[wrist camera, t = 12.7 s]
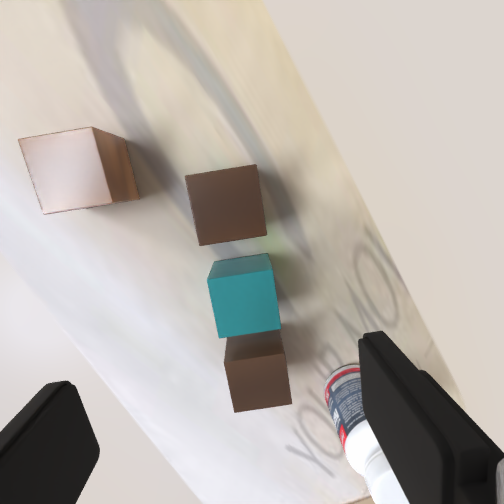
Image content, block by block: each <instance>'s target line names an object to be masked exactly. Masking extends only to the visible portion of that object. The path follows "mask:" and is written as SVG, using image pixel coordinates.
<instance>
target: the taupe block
mask: <svg viewBox="0 0 504 504" xmlns="http://www.w3.org/2000/svg"><path fill="white" fill-rule="evenodd" d="M185 180H186V185H187V190H188V195H189V199H190V204H191V209H192V214H193V218H194V223H195V228H196V232H197V237H198V242H199V246H204V245H210V244H216V243H223V242H229V241H235V240H241V239H248V238H254V237H260V236H266V235H267V230H266V223H265V217H264V210H263V203H262V196H261V190H260V183H259V176H258V169H257V165H256V164H254V165H247V166H241V167H235V168H229V169H223V170H217V171H211V172H205V173H199V174H193V175H187V176H185Z"/></svg>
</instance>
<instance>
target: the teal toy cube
mask: <svg viewBox="0 0 504 504" xmlns="http://www.w3.org/2000/svg"><path fill="white" fill-rule="evenodd" d="M207 283H208V288H209V293H210V297H211V302H212V307H213V312H214V317H215V321H216V326H217V331H218V336H219V338H225V337H232V336H238V335H245V334H251V333H258V332H265V331H271V330H278V329H281V323H280V316H279V309H278V302H277V295H276V288H275V281H274V274H273V269H272V266H271V262H270V259H269V256H268V253H266V254H260V255H253V256H247V257H240V258H234V259H228V260H221V261H215V262H214V264H213V266H212V269H211V271H210V274H209V276H208V279H207Z"/></svg>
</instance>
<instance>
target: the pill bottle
mask: <svg viewBox="0 0 504 504" xmlns="http://www.w3.org/2000/svg"><path fill="white" fill-rule="evenodd" d="M324 397H325V400H326V403H327V406H328V408H329V411H330V414H331V416H332V419H333V421H334V424H335V427H336V430H337V432H338V435H339V438H340V440H341V444H342V446H343V449H344V452H345V454H346V457H347V459H348V461H349V463H350V464H351V466H352V467H353V468H354V469H355V470H356V471H357V472H358V473H359V474H360V475H362V476H364V478H365V482H366V485H367V486H368V489H369V491H370V493H371V496H372V498H373V500H374V502H375V504H409V502H408V500H407V498H406V496H405V494H404V492H403V490H402V488H401V486H400V484H399V482H398V480H397V478H396V476H395V474H394V472H393V470H392V469H391V467H390V465H389V463H388V461H387V459H386V457H385V455H384V453H383V451H382V449H381V447H380V445H379V443H378V441H377V439H376V437H375V435H374V433H373V431H372V429H371V427H370V425H369V423H368V421H367V419H366V417H365V415H364V411H363V406H362V393H361V377H360V365H348V366H344V367H342V368H340V369H338V370H336V371H335V372H333V373H332V374H331V375H330V377H329V378H328V379H327V381H326V383H325V387H324Z"/></svg>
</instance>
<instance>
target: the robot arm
mask: <svg viewBox="0 0 504 504" xmlns="http://www.w3.org/2000/svg"><path fill="white" fill-rule="evenodd" d="M358 347H359V362H360V377H361V393H362V406H363V411H364V415H365V417H366V419H367V421H368V423H369V425H370V427H371V429H372V431H373V433H374V435H375V437H376V439H377V441H378V443H379V445H380V447H381V449H382V451H383V453H384V455H385V457H386V459H387V461H388V463H389V465H390V467H391V469H392V470H393V472H394V474H395V476H396V478H397V480H398V482H399V484H400V486H401V488H402V490H403V492H404V494H405V496H406V498H407V500H408V502H409V504H504V453H503V452H502V451H501V449H500V448H499V447H498V446H497V445H496V444H495V443H494V442H493V441H492V440H491V439H490V438H489V437H488V436H487V435H486V434H485V433H484V432H483V430H482V429H481V428H480V427H479V426H478V425H477V424H476V423H475V422H474V421H473V420H472V419H471V418H470V417H469V416H468V415H467V414H466V412H465V411H464V410H463V409H462V408H461V407H460V406H459V405H458V404H457V403H456V402H455V401H454V400H453V399H452V398H451V397H450V396H449V395H448V393H447V392H446V391H445V390H444V389H443V388H442V387H441V386H440V385H439V384H438V383H437V382H436V381H435V380H434V379H433V378H432V377H431V376H430V375H429V374H428V373H427V372H426V371H423V370H418V369H417V368H416V367H415V365H414V364H413V363H412V362H411V361H410V360H409V359H408V358H407V357H406V356H405V354H404V353H403V352H402V351H401V350H400V349H399V348H398V347H397V346H396V345H395V344H394V342H393V341H392V340H391V339H390V338H389V337H388V336H387V335H386V334H385V333H384V332H383V331H377V332H370V333H365V334H364V335H363V339H359V340H358ZM99 454H100V448H99V445H98V442H97V439H96V437H95V434H94V432H93V429H92V427H91V424H90V422H89V419H88V416H87V414H86V411H85V409H84V407H83V404H82V401H81V399H80V396H79V393H78V391H77V389H76V387H75V385H72V384H71V383H70V382H69V381H60V382H54V383H49V384H46V385H45V386H44V387H43V388H42V389H41V390H40V391H39V392H38V393H37V394H36V395H35V396H34V397H33V398H32V399H31V401H29V403H28V404H26V406H25V407H24V408H23V409H22V410H21V411H20V412H19V413H18V414H17V415H16V416H15V417H14V418H13V419H12V420H11V421H10V422H9V423H8V424H7V425H6V426H5V428H4V429H3V430H2V431H1V432H0V504H76V502H77V500H78V498H79V496H80V494H81V492H82V490H83V488H84V486H85V484H86V482H87V480H88V478H89V476H90V474H91V473H92V471H93V468H94V467H95V465H96V463H97V461H98V458H99Z"/></svg>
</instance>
